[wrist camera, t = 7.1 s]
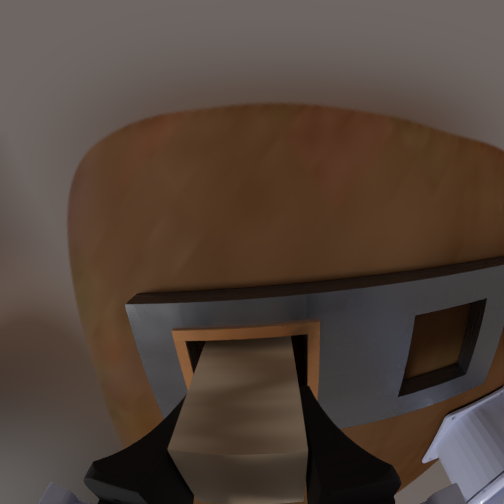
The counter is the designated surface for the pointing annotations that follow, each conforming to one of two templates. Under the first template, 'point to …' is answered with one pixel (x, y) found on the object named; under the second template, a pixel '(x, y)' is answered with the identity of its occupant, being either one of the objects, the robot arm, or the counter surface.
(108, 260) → the counter surface
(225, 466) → the peg
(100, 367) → the counter surface
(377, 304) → the grey board with holes
